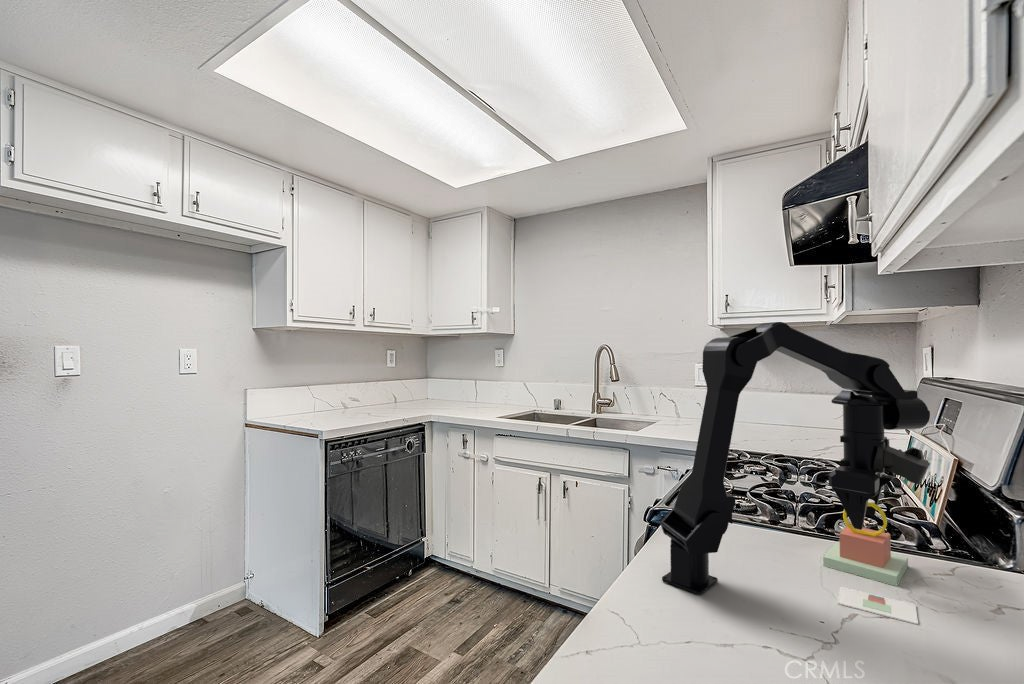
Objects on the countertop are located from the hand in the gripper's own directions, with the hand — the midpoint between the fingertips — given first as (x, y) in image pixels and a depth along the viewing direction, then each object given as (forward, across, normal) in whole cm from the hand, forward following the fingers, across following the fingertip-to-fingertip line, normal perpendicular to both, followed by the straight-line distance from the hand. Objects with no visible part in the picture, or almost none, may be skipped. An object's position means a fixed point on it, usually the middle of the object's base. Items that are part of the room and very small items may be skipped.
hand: (864, 522), depth 83 cm
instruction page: (+8, -14, -4) cm, 16 cm away
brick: (+6, 0, 0) cm, 6 cm away
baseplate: (+8, 0, 0) cm, 8 cm away
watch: (+2, 0, 0) cm, 2 cm away
